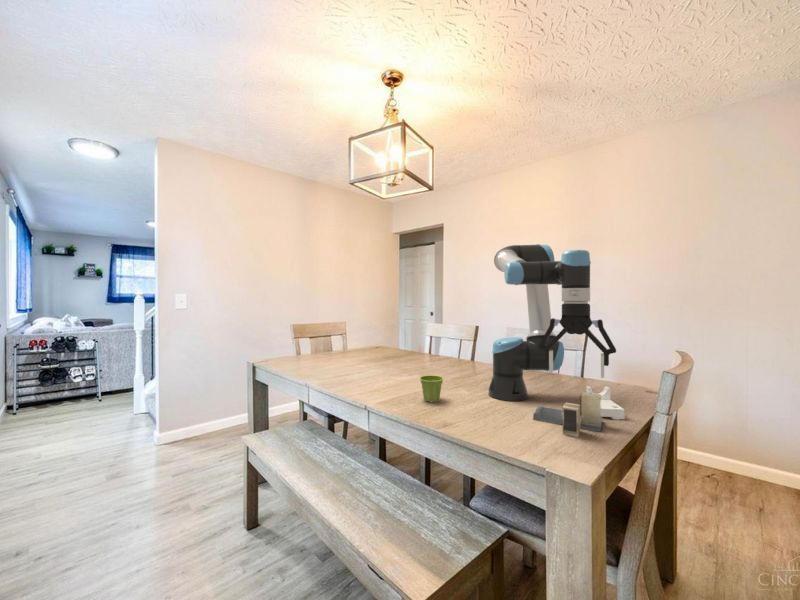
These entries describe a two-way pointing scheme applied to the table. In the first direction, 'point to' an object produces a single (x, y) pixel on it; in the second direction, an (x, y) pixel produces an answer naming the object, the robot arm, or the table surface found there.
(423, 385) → the plant pot
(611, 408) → the bracket
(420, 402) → the table surface
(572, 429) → the wooden block
